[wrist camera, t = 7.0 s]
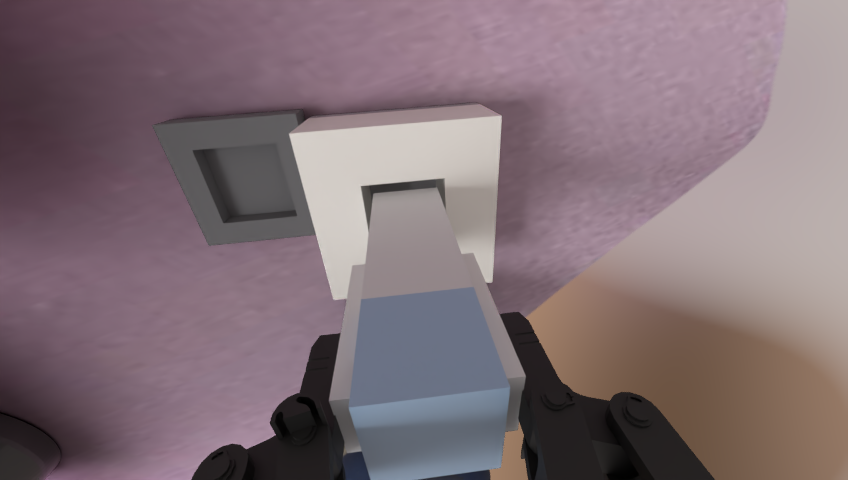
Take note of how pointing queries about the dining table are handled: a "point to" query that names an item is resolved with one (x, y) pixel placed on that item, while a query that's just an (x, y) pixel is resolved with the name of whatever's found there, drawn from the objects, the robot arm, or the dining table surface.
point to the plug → (423, 350)
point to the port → (398, 176)
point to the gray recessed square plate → (239, 174)
